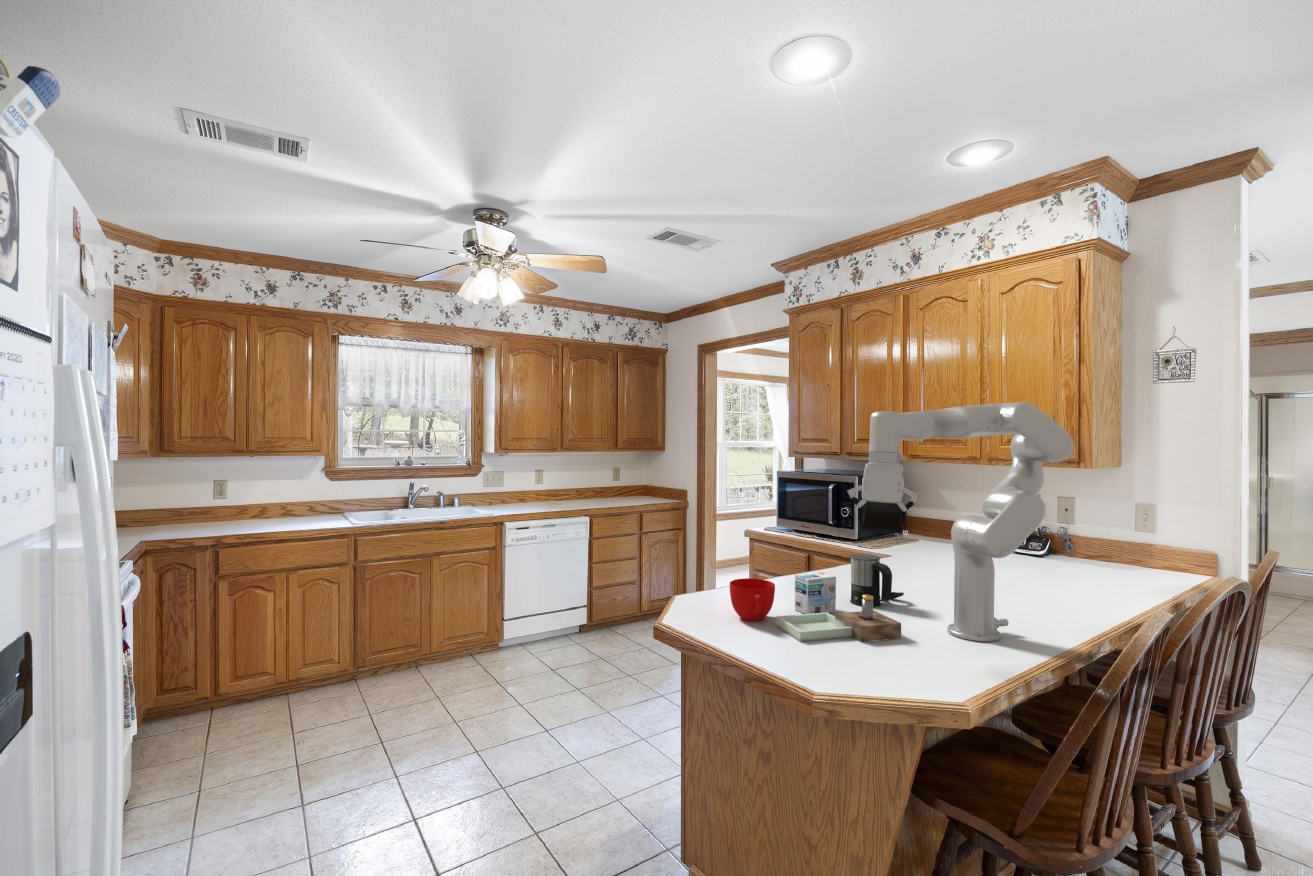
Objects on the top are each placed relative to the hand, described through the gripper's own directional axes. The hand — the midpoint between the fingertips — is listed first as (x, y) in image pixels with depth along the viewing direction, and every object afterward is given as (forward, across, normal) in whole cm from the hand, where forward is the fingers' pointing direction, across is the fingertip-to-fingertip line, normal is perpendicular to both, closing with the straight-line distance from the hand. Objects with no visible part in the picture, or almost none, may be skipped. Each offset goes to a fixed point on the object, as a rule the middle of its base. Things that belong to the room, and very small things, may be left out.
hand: (881, 524), depth 161 cm
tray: (+30, +16, +2) cm, 34 cm away
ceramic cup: (+31, +33, 0) cm, 45 cm away
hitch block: (+30, +3, -3) cm, 30 cm away
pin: (+30, +3, -3) cm, 30 cm away
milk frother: (+30, +4, -37) cm, 47 cm away
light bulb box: (+30, +20, -18) cm, 40 cm away
